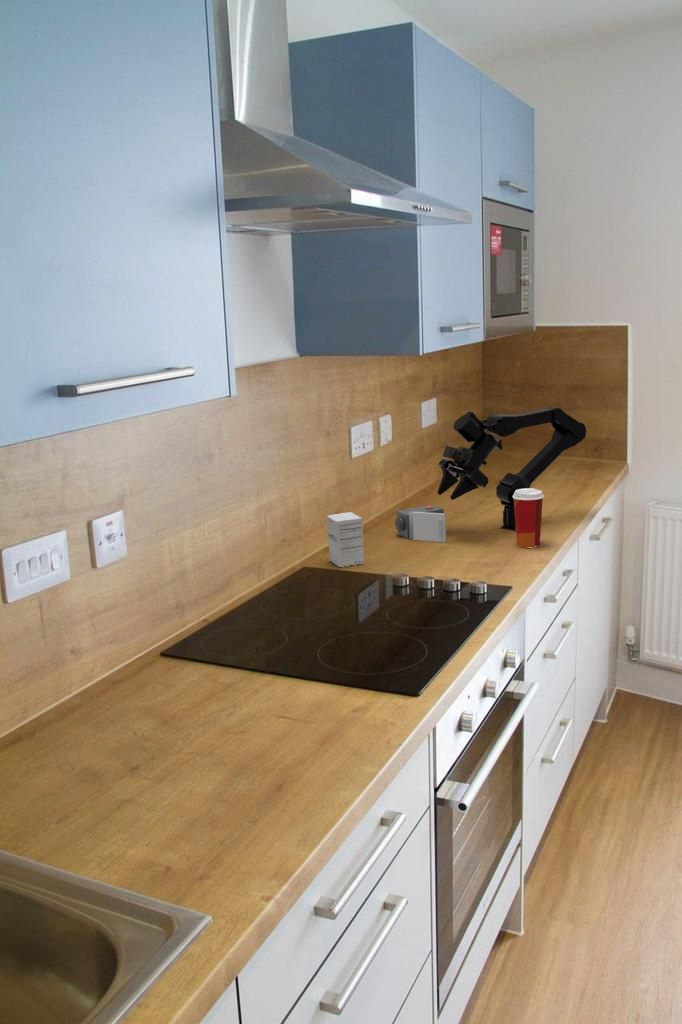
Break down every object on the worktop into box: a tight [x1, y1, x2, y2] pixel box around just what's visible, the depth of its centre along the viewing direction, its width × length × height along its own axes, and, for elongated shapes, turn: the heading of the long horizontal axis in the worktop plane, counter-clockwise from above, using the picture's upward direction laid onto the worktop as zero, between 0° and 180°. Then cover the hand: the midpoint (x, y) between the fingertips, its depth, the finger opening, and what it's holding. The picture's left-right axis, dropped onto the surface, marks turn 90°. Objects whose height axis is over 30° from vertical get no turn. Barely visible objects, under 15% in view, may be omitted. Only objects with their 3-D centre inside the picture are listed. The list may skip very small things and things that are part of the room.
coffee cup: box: [513, 487, 545, 548], centre depth 239 cm, size 8×8×15 cm
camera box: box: [394, 504, 445, 540], centre depth 256 cm, size 13×6×8 cm, turn 113°
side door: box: [409, 511, 447, 543], centre depth 249 cm, size 11×2×8 cm, turn 63°
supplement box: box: [326, 511, 365, 568], centre depth 233 cm, size 7×7×13 cm
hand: (444, 496), depth 247 cm, fingers open, 7 cm apart
